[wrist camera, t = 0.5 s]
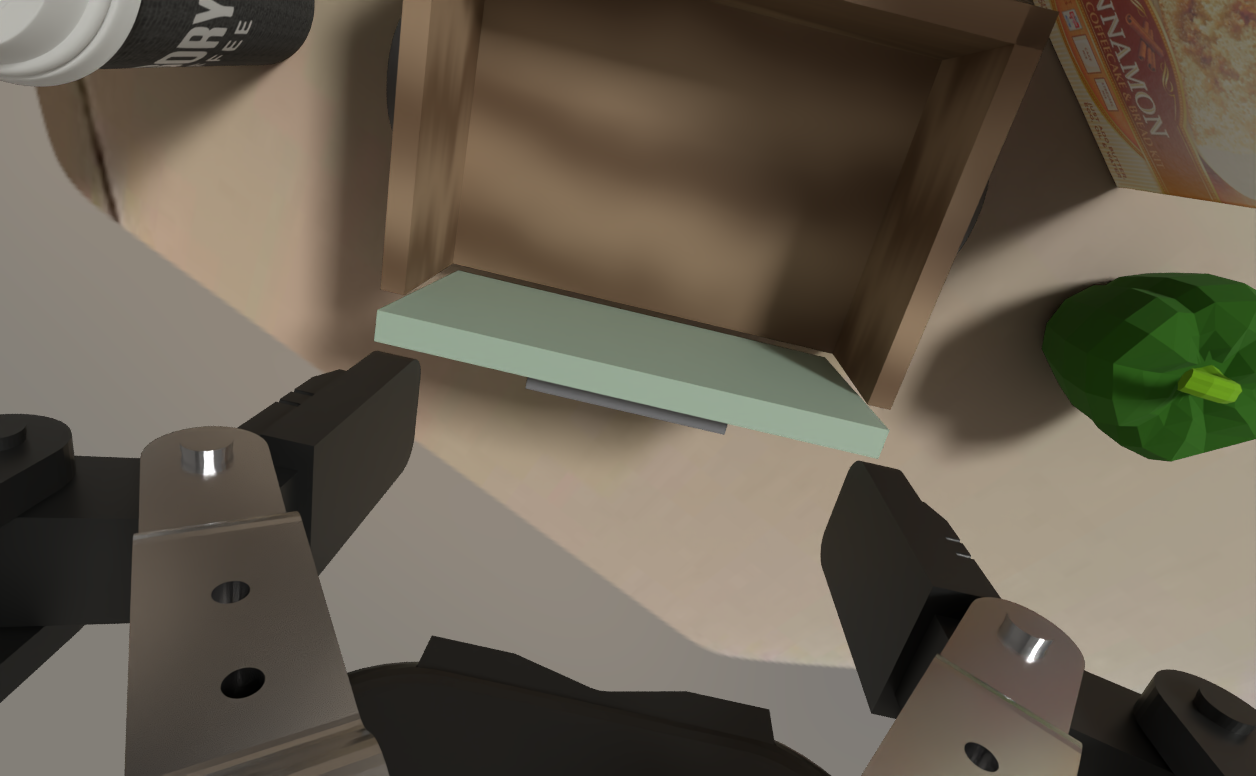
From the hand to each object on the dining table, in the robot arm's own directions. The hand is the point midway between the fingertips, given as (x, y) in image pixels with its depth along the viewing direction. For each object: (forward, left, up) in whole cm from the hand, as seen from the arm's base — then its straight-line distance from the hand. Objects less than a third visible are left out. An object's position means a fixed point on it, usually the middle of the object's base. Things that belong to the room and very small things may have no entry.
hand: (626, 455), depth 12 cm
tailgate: (+4, 0, -22) cm, 22 cm away
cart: (-4, 0, -24) cm, 25 cm away
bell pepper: (-1, +24, -25) cm, 34 cm away
